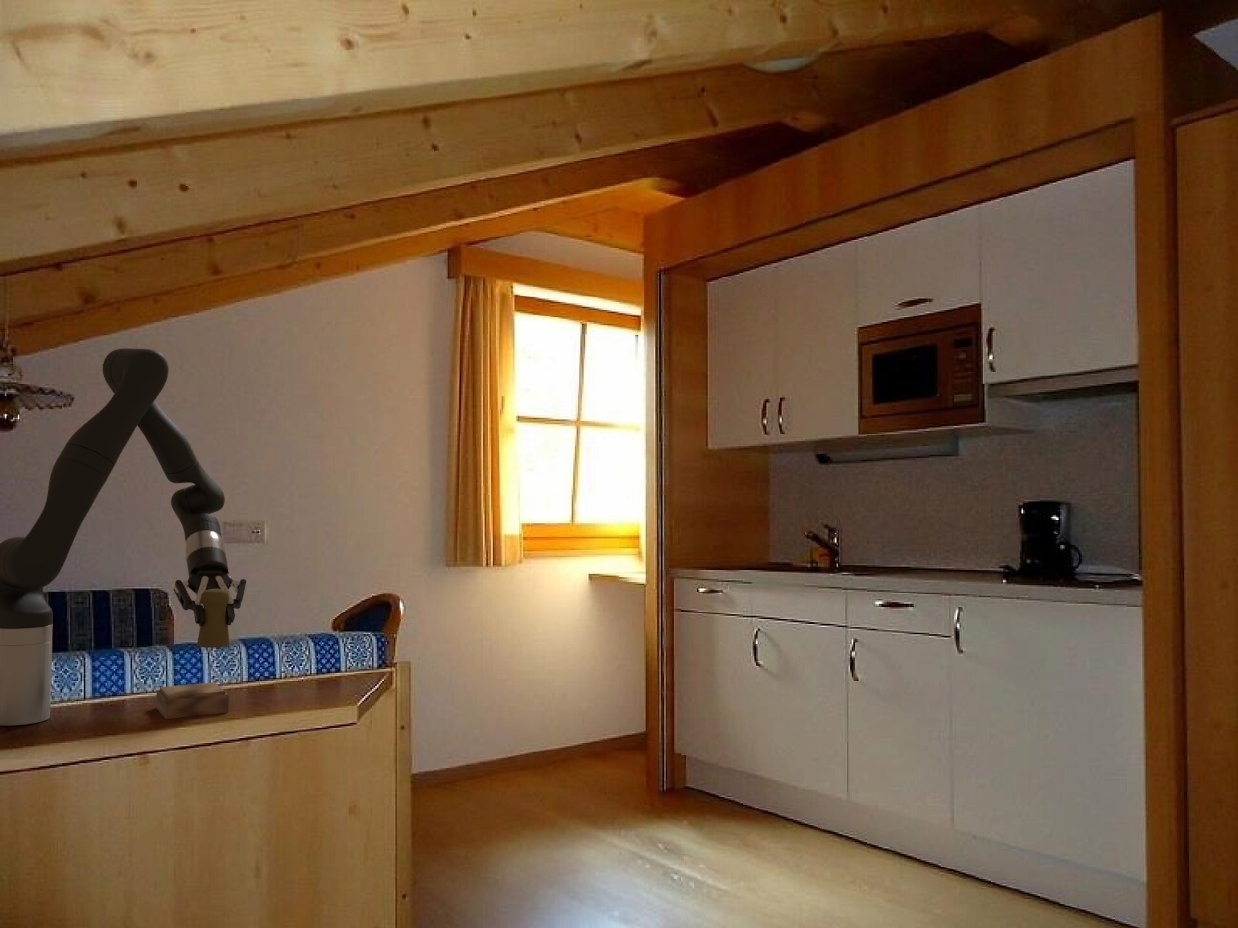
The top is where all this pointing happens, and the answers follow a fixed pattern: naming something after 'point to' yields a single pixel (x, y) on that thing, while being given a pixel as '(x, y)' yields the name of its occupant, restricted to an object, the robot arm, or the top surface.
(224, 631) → the cork
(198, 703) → the plinth
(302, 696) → the top surface
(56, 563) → the robot arm
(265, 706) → the top surface
